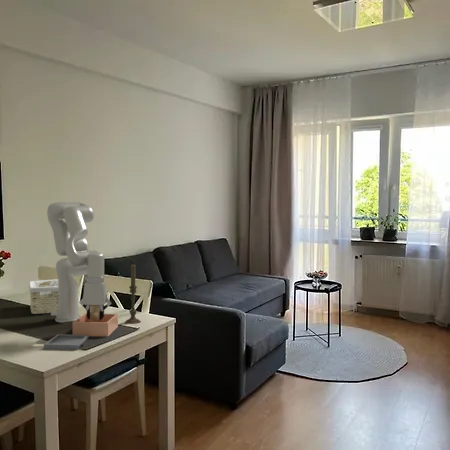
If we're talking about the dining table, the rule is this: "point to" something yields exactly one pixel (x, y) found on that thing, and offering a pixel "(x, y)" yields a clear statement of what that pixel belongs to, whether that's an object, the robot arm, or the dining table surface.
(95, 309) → the birch peg
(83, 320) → the pink open storage bin
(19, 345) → the dining table surface
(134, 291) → the candlestick holder
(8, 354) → the dining table surface
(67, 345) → the grey tray
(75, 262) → the robot arm
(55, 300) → the storage basket
